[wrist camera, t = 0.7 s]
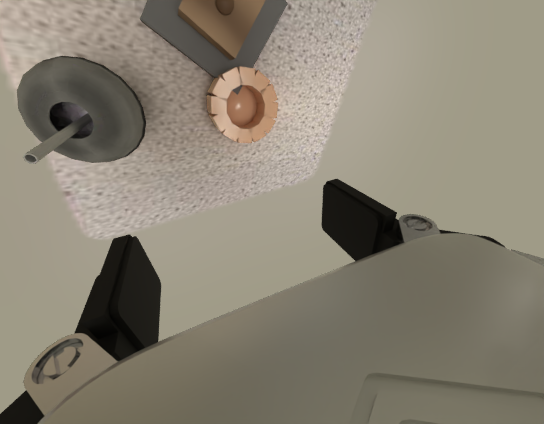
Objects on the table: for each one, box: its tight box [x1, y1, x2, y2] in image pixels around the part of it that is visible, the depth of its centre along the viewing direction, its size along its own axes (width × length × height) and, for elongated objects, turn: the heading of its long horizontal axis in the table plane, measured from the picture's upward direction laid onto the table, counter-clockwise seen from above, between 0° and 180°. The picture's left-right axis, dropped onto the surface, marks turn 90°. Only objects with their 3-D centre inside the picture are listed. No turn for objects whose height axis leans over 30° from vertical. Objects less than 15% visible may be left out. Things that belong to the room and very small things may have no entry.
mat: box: [140, 0, 288, 95], centre depth 25 cm, size 12×12×1 cm
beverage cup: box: [17, 56, 146, 163], centre depth 18 cm, size 7×7×20 cm
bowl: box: [207, 66, 278, 143], centre depth 29 cm, size 9×9×4 cm
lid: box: [178, 0, 265, 60], centre depth 23 cm, size 7×7×3 cm
